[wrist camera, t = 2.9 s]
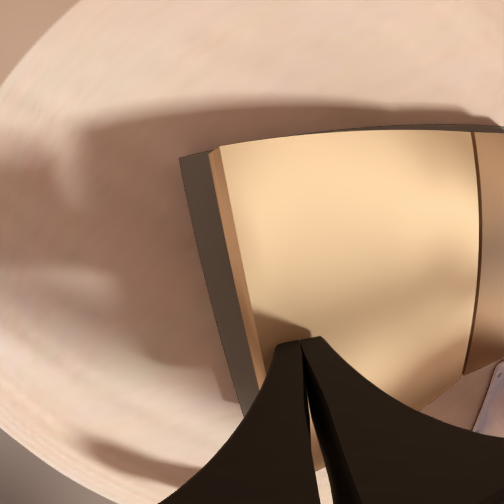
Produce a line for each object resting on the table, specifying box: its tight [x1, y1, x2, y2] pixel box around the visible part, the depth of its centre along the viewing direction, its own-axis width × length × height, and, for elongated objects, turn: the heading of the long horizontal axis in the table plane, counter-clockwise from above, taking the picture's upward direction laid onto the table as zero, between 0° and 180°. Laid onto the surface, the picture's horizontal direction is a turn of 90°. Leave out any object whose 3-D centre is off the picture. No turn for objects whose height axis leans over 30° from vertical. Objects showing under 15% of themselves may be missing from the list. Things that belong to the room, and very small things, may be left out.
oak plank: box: [208, 130, 479, 472], centre depth 11 cm, size 13×11×2 cm
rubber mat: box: [179, 124, 504, 417], centre depth 14 cm, size 14×18×1 cm
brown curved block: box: [462, 132, 504, 375], centre depth 12 cm, size 13×4×2 cm, turn 10°
